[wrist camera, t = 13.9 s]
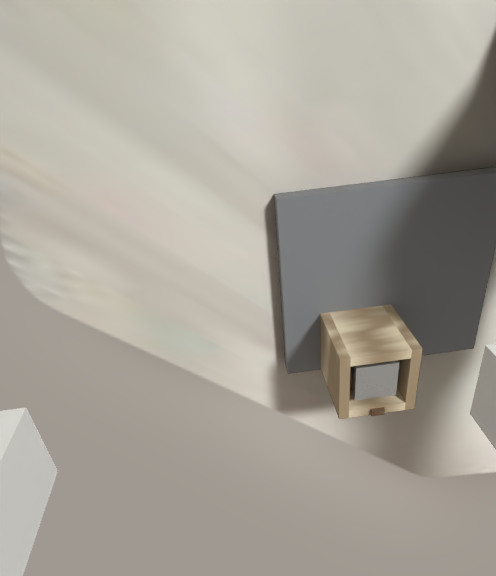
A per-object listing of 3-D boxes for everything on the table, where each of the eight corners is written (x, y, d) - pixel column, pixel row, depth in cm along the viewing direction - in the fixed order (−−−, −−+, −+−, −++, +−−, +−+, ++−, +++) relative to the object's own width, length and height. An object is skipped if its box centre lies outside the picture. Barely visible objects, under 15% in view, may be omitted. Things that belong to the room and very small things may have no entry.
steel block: (368, 312, 44) (399, 362, 37) (367, 341, 46) (395, 394, 39) (332, 316, 44) (356, 368, 37) (332, 346, 46) (354, 400, 39)
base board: (500, 166, 38) (511, 170, 36) (466, 339, 47) (473, 348, 46) (273, 194, 37) (276, 199, 36) (285, 364, 47) (287, 373, 45)
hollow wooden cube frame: (391, 304, 42) (424, 350, 36) (386, 359, 46) (415, 411, 39) (320, 313, 42) (341, 362, 36) (321, 368, 45) (340, 421, 39)
